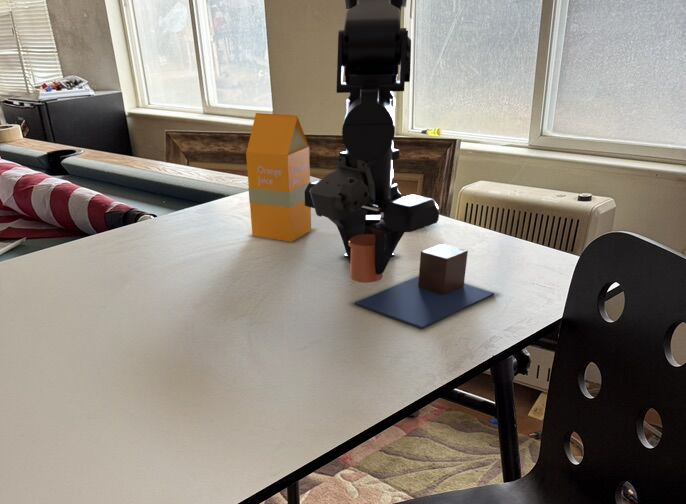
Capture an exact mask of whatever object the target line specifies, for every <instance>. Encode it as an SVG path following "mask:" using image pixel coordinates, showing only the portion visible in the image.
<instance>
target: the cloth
mask: <svg viewBox="0 0 686 504" xmlns="http://www.w3.org/2000/svg"><path fill="white" fill-rule="evenodd" d="M418 283H419V275H418V276H416V277H413V278H411V279H409V280H406V281H404V282H402V283H401V282H400V283H398V284H396V285H394V286H392V287H390V288H387V289H384V290H382V291H379V292H377V293H375V294H372V295H369V296H367V297H365V298H362V299H360V300H357V301H355V302H354V305H355V306H359V307H362V308H364V309H367V310H369V311H372V312H375V313H377V314H381V315H383V316H386V317H388V318H391V319H394V320H397V321H399V322H401V323H405V324H407V325H410V326H413V327H416V328H417V329H421V330H423V329H425V328H427V327H429V326H432V325H433V324H435V323H437V322H439V321H442V320H444V319H446V318H448V317H450V316H453V315H455V314H456V313H459V312H461V311H464V310H465V309H467V308H469V307H472V306H475V304H478V303H481V302H482V301H484V300H486V299H489V298H491V297H492V296H493V297H494V296H495V292H492V291H489V290H485V289H483V288H479V287H476V286H472V285H469V284H466V283H464V287H461V288H459V289H457V290H455V291H452V292H450V293H448V294H446V295H441V294H438V293H435V292H432V291H428V290H425V289H422V288H419V287H418Z"/></svg>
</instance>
